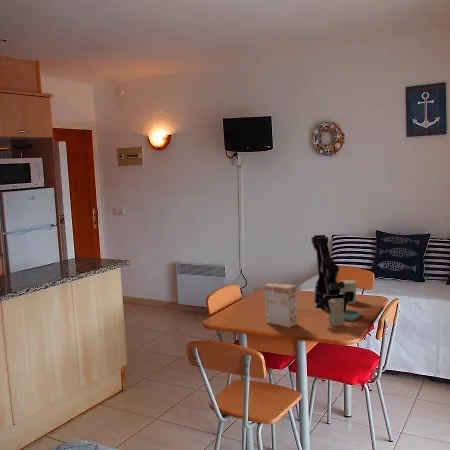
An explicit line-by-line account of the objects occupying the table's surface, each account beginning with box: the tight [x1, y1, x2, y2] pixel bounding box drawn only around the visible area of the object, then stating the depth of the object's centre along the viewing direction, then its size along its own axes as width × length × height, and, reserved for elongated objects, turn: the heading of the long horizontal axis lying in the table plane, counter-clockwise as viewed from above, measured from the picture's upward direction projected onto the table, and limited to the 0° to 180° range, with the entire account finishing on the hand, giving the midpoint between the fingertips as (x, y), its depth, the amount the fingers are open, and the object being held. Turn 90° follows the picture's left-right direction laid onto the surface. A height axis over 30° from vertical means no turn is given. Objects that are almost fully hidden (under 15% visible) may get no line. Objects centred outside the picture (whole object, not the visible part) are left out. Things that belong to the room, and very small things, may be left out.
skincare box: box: [328, 299, 346, 328], centre depth 246 cm, size 6×4×12 cm
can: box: [338, 279, 358, 305], centre depth 287 cm, size 9×9×12 cm
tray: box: [344, 309, 363, 322], centre depth 259 cm, size 12×12×2 cm
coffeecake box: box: [264, 282, 298, 328], centre depth 253 cm, size 15×7×20 cm, turn 44°
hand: (337, 312), depth 245 cm, fingers closed on skincare box, 7 cm apart
